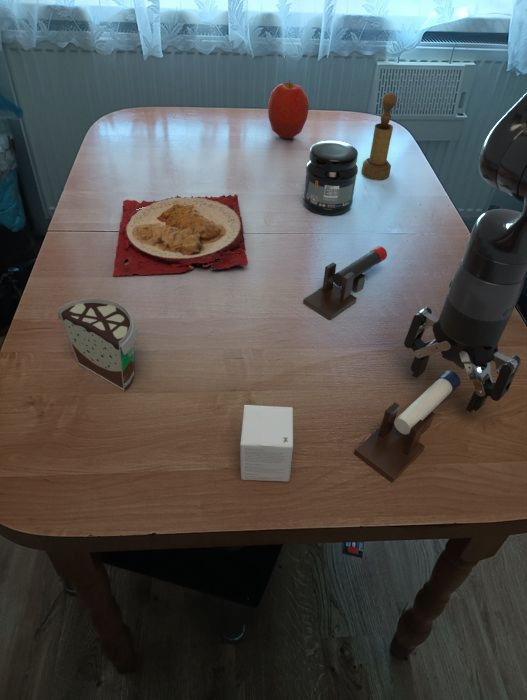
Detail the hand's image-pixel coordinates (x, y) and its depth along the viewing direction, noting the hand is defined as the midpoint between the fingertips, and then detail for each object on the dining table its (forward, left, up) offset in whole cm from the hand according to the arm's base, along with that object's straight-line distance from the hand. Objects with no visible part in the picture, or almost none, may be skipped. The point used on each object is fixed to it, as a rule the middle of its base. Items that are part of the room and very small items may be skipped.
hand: (443, 390), depth 75 cm
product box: (+25, -10, -2) cm, 27 cm away
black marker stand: (-7, -25, -2) cm, 26 cm away
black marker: (-13, -25, 0) cm, 28 cm away
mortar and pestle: (-51, -49, -2) cm, 71 cm away
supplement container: (-31, -47, -2) cm, 56 cm away
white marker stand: (+11, 0, -2) cm, 11 cm away
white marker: (+5, 0, 0) cm, 5 cm away
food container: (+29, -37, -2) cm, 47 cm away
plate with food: (0, -58, -2) cm, 58 cm away
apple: (-50, -77, +4) cm, 92 cm away
